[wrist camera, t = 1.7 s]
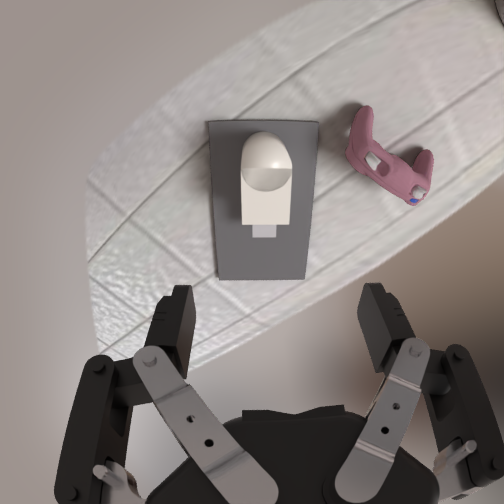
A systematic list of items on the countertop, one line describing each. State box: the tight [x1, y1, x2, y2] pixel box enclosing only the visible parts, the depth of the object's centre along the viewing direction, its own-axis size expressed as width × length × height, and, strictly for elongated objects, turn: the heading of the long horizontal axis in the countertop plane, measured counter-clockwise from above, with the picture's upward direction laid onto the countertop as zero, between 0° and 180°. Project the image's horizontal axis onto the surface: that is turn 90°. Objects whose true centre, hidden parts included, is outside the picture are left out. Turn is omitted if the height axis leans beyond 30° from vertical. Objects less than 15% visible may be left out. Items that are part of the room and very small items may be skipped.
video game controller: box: [345, 105, 434, 206], centre depth 26 cm, size 10×5×7 cm, turn 65°
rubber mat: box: [209, 120, 319, 280], centre depth 31 cm, size 18×10×1 cm, turn 0°
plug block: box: [241, 131, 292, 237], centre depth 27 cm, size 9×4×5 cm, turn 0°
